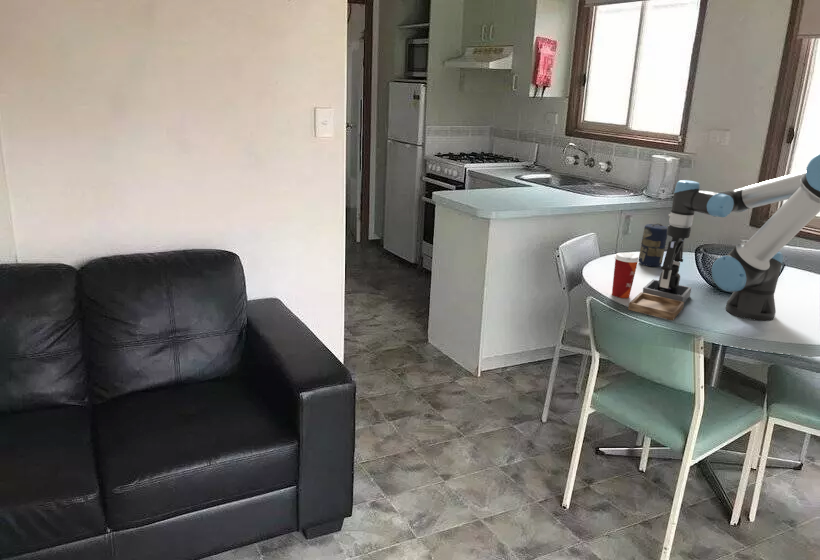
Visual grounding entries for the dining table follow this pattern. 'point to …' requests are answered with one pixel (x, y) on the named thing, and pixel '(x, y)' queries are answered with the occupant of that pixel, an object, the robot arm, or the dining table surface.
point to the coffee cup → (624, 274)
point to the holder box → (681, 290)
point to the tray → (656, 306)
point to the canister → (653, 245)
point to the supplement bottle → (671, 281)
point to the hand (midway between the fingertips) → (668, 283)
